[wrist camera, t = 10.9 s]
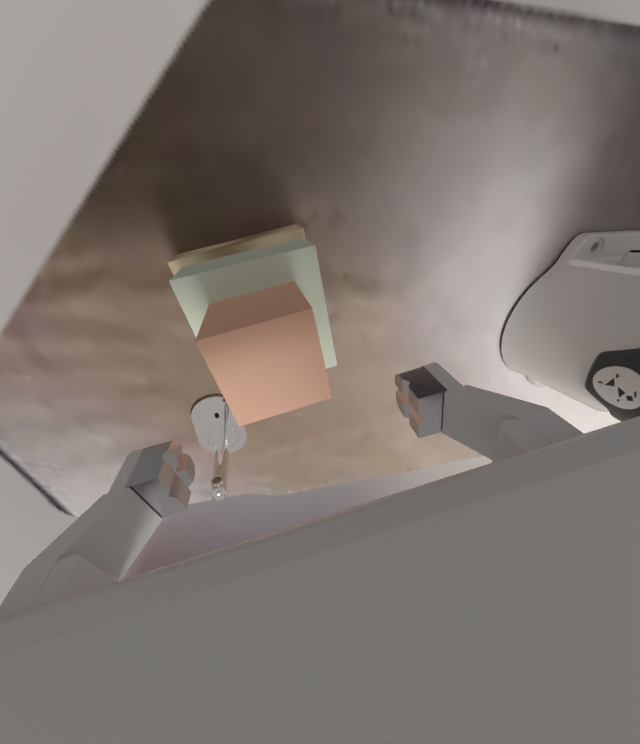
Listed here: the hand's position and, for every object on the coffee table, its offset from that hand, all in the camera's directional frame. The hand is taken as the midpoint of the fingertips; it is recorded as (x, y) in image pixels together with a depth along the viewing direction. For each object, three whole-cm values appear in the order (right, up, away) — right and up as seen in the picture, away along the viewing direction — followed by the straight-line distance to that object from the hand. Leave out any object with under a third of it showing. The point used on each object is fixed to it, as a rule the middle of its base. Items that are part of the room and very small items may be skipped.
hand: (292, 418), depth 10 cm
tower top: (-3, +6, +10) cm, 12 cm away
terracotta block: (-2, +4, +7) cm, 8 cm away
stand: (-10, -4, +19) cm, 22 cm away
